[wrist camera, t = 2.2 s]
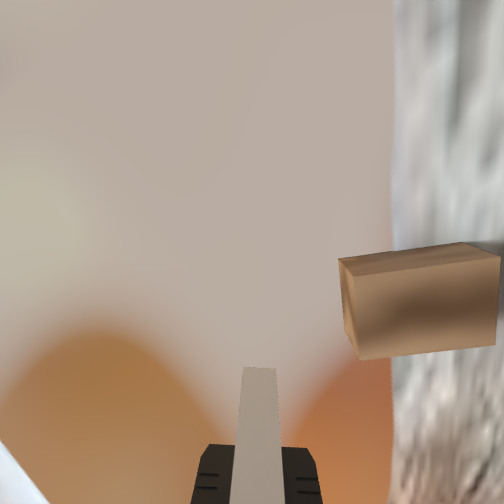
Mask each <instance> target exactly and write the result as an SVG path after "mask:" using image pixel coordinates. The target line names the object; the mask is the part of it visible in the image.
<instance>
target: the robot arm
mask: <svg viewBox="0 0 504 504" xmlns="http://www.w3.org/2000/svg"><path fill="white" fill-rule="evenodd" d="M277 393H278V392H277V379H276V369H274V368H273V369H271V368H250V367H243V375H242V385H241V394H240V404H239V414H238V424H237V434H236V444H235V445H218V444H209V446H208V447H207V448H206V450H205V451H204V453H203V455H202V456H201V458H200V463H199V468H198V472H197V477H196V481H195V486H194V490H193V495H192V500H191V504H323V502H322V497H321V491H320V486H319V482H318V475H317V469H316V464H315V461H314V459H313V458H312V456H311V454H310V453H309V451H308V449H307V448H294V447H293V448H292V447H281V437H280V423H279V409H278V408H279V407H278V394H277Z"/></svg>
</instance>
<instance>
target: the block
mask: <svg viewBox="0 0 504 504" xmlns="http://www.w3.org/2000/svg"><path fill="white" fill-rule="evenodd" d="M500 262H501V257H500V256H498V255H495V254H492V253H489V252H487V251H484V250H481V249H478V248H476V247H473V246H470V245H468V244H465V243H462V242H458V243H451V244H444V245H437V246H430V247H423V248H416V249H408V250H401V251H394V252H393V251H387V252H380V253H373V254H366V255H360V256H352V257H345V258H338V263H339V275H340V286H341V296H342V308H343V318H344V330H345V332H346V334H347V336H348V338H349V340H350V342H351V344H352V346H353V348H354V350H355V352H356V353H357V356H358V358H359V360H360V361H361V360H369V359H377V358H387V357H396V356H404V355H413V354H422V353H431V352H439V351H448V350H457V349H466V348H474V347H483V346H492V345H495V341H496V326H497V310H498V294H499V278H500Z"/></svg>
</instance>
